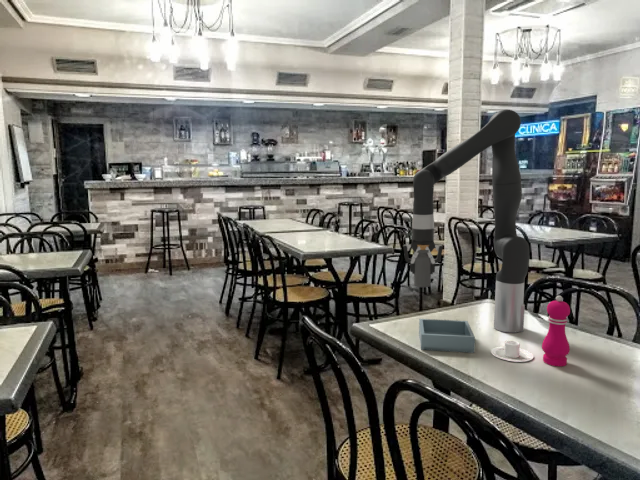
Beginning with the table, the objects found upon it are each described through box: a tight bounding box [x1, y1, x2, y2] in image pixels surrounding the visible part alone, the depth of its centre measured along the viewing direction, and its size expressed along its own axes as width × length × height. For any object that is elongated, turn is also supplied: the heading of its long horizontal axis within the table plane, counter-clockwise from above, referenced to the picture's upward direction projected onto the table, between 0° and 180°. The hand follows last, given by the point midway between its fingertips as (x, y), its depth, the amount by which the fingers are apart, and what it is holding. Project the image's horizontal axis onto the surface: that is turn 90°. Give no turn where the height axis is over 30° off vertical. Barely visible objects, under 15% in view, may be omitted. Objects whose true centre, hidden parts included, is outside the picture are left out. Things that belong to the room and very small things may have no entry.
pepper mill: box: [541, 295, 571, 367], centre depth 137 cm, size 7×7×20 cm
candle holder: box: [490, 339, 534, 363], centre depth 144 cm, size 12×12×4 cm
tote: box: [418, 318, 476, 354], centre depth 155 cm, size 16×16×5 cm
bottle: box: [413, 245, 432, 288], centre depth 170 cm, size 6×6×15 cm
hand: (422, 273), depth 170 cm, fingers closed on bottle, 6 cm apart
